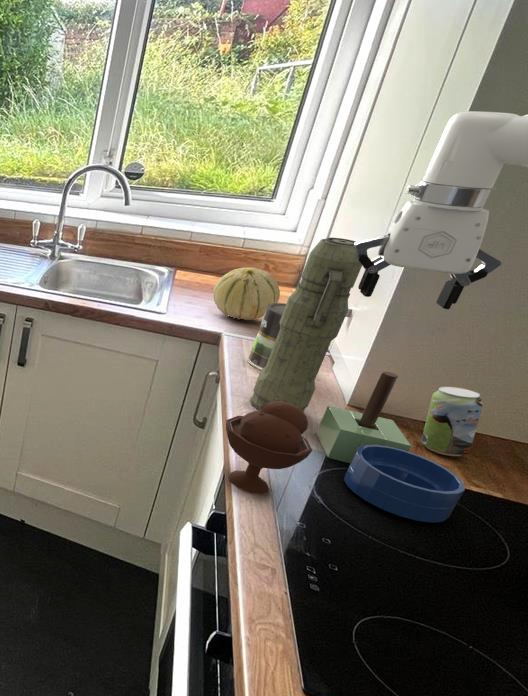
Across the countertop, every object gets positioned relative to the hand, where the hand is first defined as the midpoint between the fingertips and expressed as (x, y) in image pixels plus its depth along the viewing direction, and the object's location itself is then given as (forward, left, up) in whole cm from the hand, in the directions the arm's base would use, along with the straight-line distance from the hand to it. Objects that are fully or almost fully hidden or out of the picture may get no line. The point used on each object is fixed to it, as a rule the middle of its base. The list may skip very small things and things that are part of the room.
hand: (402, 300), depth 96 cm
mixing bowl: (-4, +15, -28) cm, 32 cm away
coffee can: (+5, -33, -28) cm, 44 cm away
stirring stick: (-2, +2, -28) cm, 28 cm away
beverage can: (-16, -8, -28) cm, 34 cm away
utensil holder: (-2, +2, -28) cm, 28 cm away
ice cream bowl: (+16, +23, -28) cm, 40 cm away
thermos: (+8, -10, -28) cm, 31 cm away
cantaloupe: (+9, -66, -28) cm, 72 cm away
